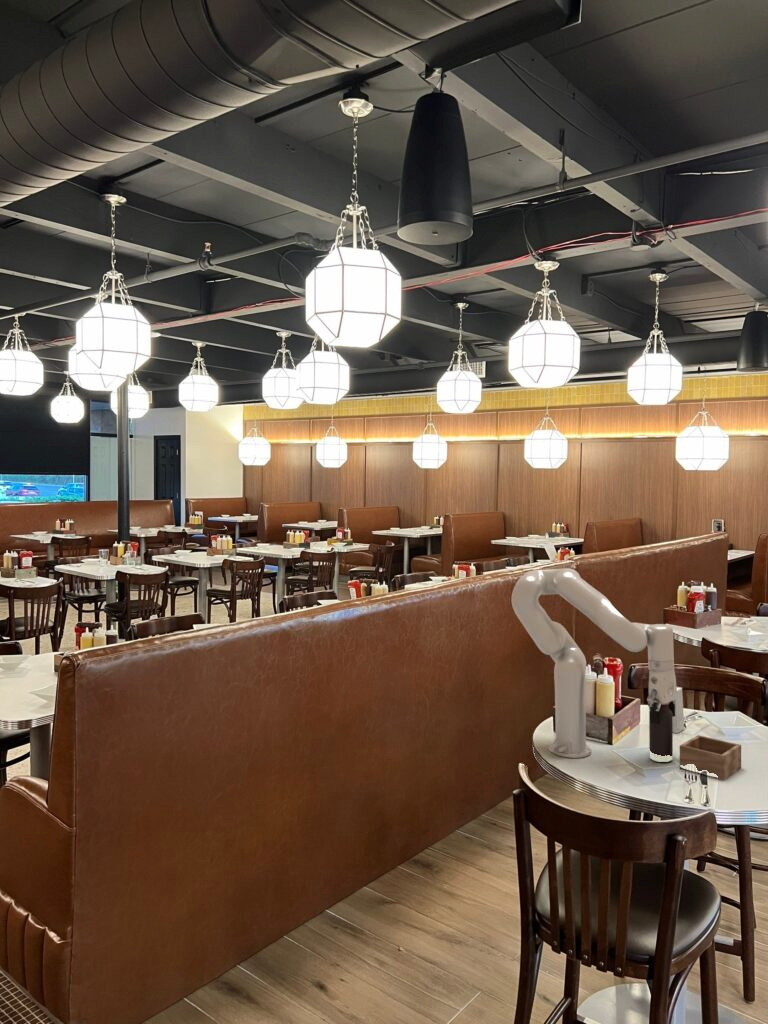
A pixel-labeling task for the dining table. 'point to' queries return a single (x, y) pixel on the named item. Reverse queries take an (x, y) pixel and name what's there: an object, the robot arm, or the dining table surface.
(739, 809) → the dining table surface
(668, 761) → the dining table surface
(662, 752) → the vinegar
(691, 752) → the caddy
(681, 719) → the skincare box
